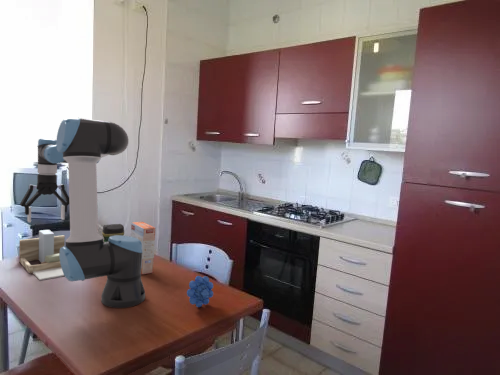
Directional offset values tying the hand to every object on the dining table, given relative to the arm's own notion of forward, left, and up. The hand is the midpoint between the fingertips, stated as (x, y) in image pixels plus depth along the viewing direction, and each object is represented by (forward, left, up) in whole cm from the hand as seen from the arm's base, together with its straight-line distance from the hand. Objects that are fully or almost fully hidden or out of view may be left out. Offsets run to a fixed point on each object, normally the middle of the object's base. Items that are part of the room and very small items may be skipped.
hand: (46, 220), depth 161 cm
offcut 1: (-9, -1, -20) cm, 21 cm away
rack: (-3, 0, -19) cm, 20 cm away
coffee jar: (-16, -24, -19) cm, 35 cm away
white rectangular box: (0, 0, -19) cm, 19 cm away
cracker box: (-31, -31, -19) cm, 48 cm away
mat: (-17, +2, -19) cm, 26 cm away
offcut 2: (-9, -1, -17) cm, 19 cm away
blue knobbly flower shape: (-78, -30, -19) cm, 86 cm away
